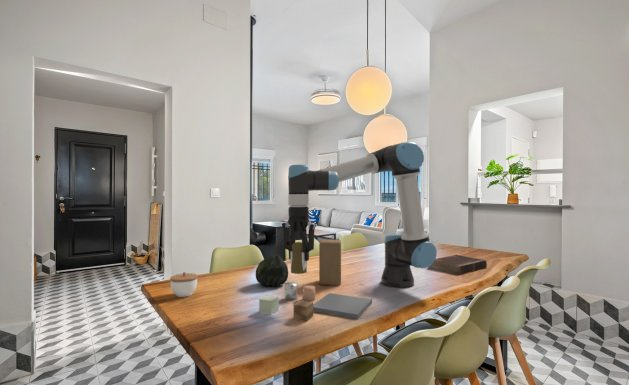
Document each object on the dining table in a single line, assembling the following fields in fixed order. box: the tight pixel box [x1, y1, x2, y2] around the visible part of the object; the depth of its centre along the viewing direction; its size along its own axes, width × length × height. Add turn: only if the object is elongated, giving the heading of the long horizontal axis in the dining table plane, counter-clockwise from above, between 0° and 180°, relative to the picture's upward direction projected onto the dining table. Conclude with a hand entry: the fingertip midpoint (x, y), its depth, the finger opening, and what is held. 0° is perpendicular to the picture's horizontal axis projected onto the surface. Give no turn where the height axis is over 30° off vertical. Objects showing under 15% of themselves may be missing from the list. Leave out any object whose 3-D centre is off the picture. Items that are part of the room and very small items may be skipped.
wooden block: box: [318, 238, 342, 286], centre depth 156 cm, size 10×10×20 cm
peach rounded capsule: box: [302, 285, 316, 302], centre depth 131 cm, size 5×5×5 cm
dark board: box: [313, 292, 373, 320], centre depth 123 cm, size 18×18×2 cm
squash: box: [255, 254, 289, 287], centre depth 153 cm, size 14×15×15 cm
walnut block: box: [293, 299, 314, 323], centre depth 112 cm, size 5×5×5 cm
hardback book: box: [427, 254, 488, 276], centre depth 188 cm, size 29×19×5 cm, turn 126°
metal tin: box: [284, 281, 298, 302], centre depth 132 cm, size 5×5×6 cm
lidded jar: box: [170, 271, 199, 298], centre depth 138 cm, size 11×11×9 cm
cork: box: [290, 241, 308, 275], centre depth 122 cm, size 6×6×11 cm
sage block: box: [258, 294, 280, 316], centre depth 118 cm, size 5×5×5 cm
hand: (298, 268), depth 122 cm, fingers closed on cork, 4 cm apart
